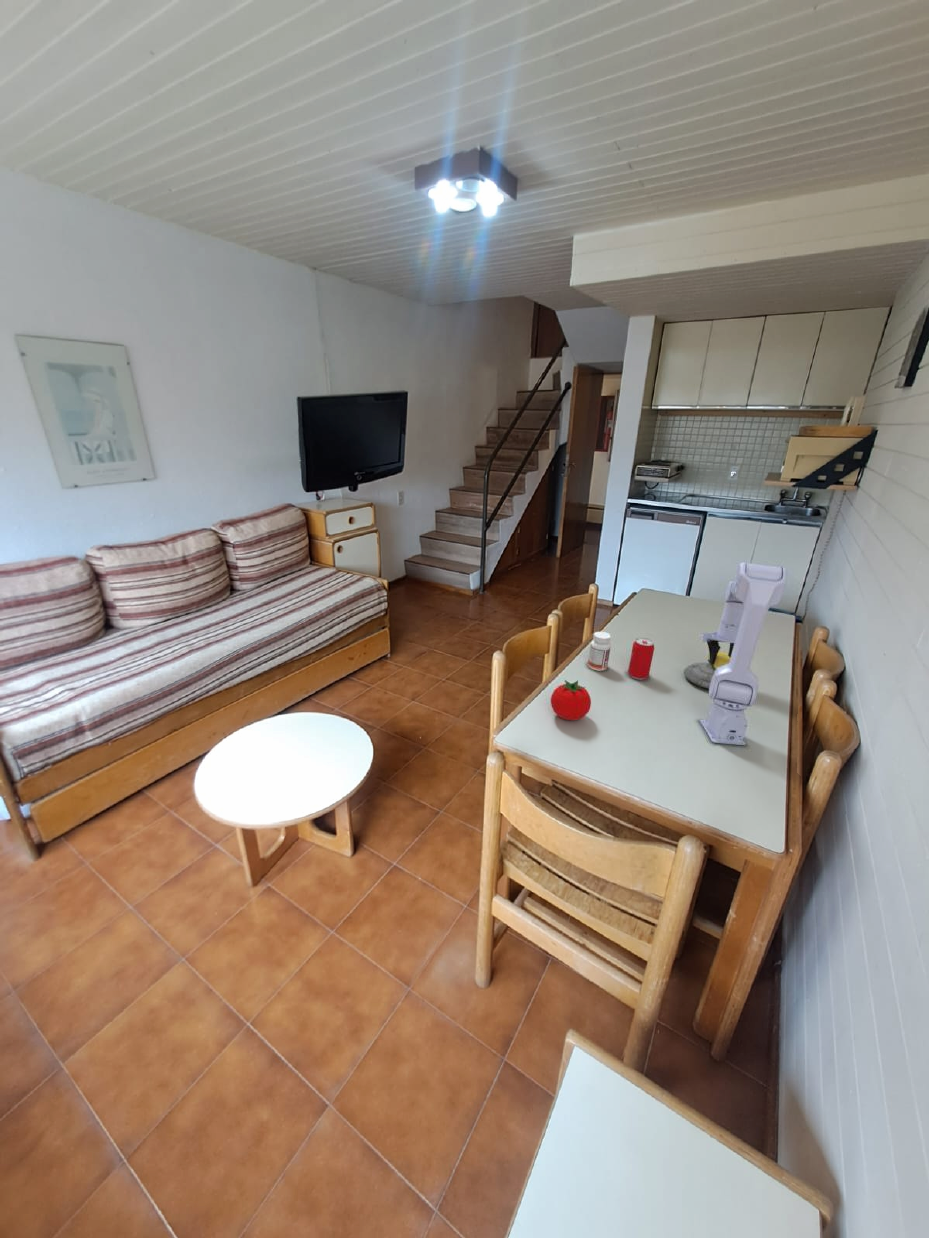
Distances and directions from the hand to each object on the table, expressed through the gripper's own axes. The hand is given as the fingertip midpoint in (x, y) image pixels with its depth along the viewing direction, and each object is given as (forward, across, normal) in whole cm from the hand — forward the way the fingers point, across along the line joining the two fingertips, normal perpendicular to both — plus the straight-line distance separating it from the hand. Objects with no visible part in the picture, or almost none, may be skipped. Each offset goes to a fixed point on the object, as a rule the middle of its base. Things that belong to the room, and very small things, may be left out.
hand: (720, 663), depth 149 cm
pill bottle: (+7, +35, -4) cm, 36 cm away
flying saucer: (+7, +2, 0) cm, 7 cm away
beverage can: (+7, +23, 0) cm, 24 cm away
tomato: (+7, +47, +25) cm, 54 cm away
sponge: (+1, 0, 0) cm, 1 cm away
